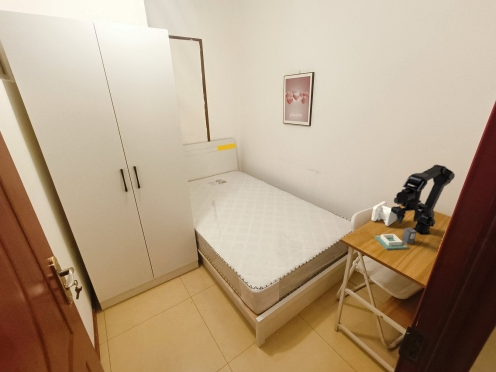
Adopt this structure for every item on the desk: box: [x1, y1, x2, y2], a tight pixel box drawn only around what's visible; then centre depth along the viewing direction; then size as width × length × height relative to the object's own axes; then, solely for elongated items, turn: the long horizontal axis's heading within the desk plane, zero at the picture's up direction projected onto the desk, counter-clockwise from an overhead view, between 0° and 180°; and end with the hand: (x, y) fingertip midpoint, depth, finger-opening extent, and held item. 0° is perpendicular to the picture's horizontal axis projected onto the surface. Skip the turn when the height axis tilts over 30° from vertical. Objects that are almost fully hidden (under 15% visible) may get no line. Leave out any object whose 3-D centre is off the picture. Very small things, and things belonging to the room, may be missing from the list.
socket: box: [380, 233, 403, 246], centre depth 125 cm, size 8×8×2 cm
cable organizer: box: [371, 200, 401, 227], centre depth 145 cm, size 15×11×12 cm
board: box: [373, 234, 409, 251], centre depth 126 cm, size 12×12×1 cm
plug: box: [401, 227, 418, 245], centre depth 125 cm, size 4×4×8 cm
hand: (406, 222), depth 123 cm, fingers open, 9 cm apart
